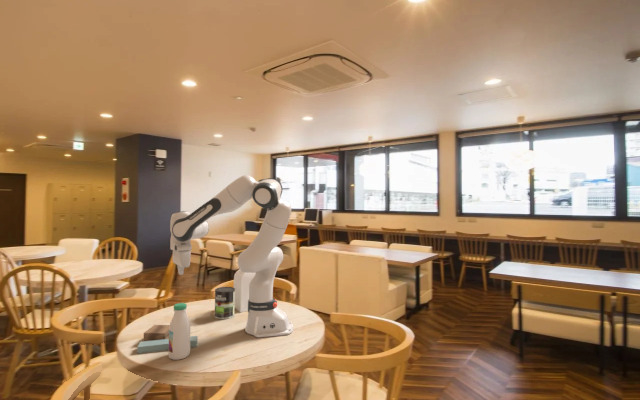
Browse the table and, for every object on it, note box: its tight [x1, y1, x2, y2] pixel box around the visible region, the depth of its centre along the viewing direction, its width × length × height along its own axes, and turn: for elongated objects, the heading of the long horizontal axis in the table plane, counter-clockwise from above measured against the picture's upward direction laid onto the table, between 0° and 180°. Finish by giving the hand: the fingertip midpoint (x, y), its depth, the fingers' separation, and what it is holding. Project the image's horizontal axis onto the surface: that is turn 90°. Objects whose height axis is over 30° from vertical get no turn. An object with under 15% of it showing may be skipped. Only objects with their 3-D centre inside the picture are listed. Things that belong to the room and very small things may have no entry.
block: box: [143, 324, 170, 341], centre depth 140 cm, size 9×9×5 cm
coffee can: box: [214, 286, 235, 320], centre depth 170 cm, size 10×10×14 cm
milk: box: [233, 268, 256, 313], centre depth 183 cm, size 12×12×26 cm
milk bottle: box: [168, 302, 191, 361], centre depth 126 cm, size 8×8×20 cm
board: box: [136, 335, 199, 354], centre depth 132 cm, size 22×5×3 cm, turn 107°
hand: (180, 274), depth 153 cm, fingers closed
